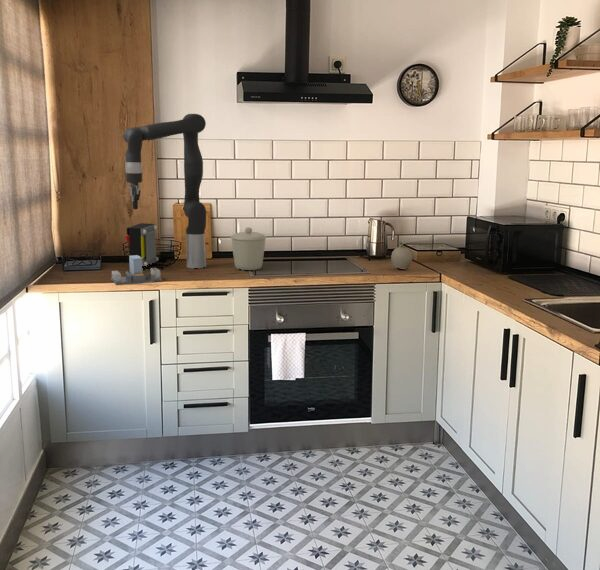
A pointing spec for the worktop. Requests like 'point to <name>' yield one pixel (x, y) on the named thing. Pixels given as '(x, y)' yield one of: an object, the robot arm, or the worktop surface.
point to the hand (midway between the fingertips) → (135, 209)
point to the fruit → (401, 257)
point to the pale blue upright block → (135, 265)
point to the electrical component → (143, 242)
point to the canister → (248, 249)
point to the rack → (135, 277)
